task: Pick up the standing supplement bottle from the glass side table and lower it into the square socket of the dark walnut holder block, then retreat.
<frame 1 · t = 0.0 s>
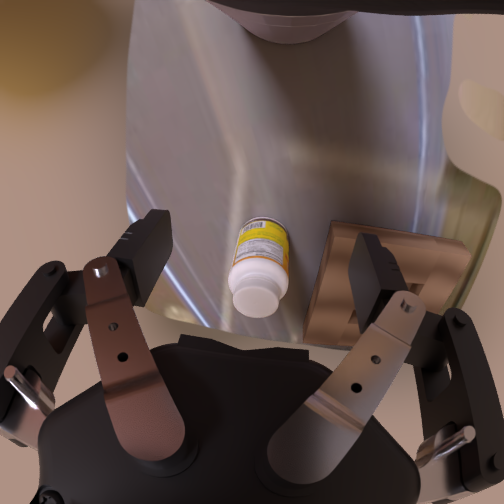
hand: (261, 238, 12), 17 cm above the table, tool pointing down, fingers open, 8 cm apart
walnut socket block: (381, 288, 36), on the table
supplement bottle: (264, 234, 33), on the table
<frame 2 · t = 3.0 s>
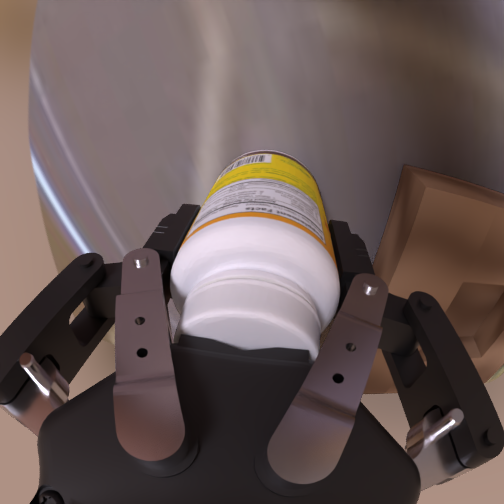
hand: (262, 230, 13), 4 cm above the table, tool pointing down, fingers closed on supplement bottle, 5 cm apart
walnut socket block: (461, 299, 18), on the table
supplement bottle: (268, 194, 16), on the table, touching gripper
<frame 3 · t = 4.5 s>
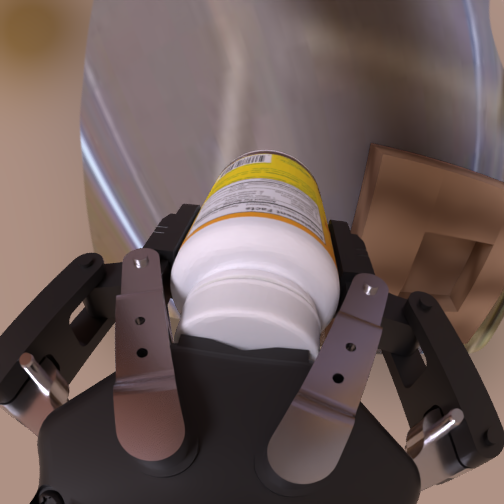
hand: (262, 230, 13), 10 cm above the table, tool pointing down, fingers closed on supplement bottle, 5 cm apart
walnut socket block: (433, 257, 24), on the table
supplement bottle: (268, 194, 16), point 6 cm above the table, touching gripper
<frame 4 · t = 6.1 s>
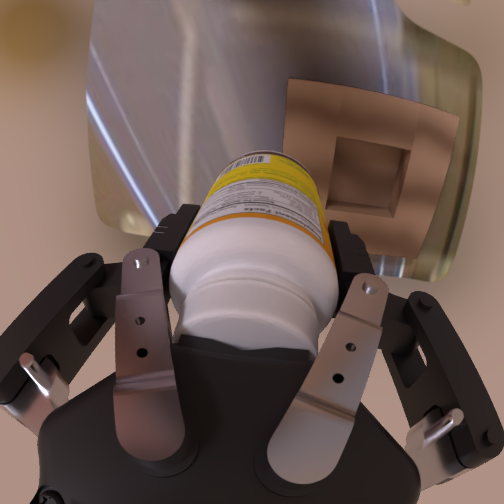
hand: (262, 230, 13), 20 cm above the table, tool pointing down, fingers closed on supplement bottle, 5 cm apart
walnut socket block: (362, 169, 30), on the table
supplement bottle: (267, 194, 16), point 16 cm above the table, touching gripper
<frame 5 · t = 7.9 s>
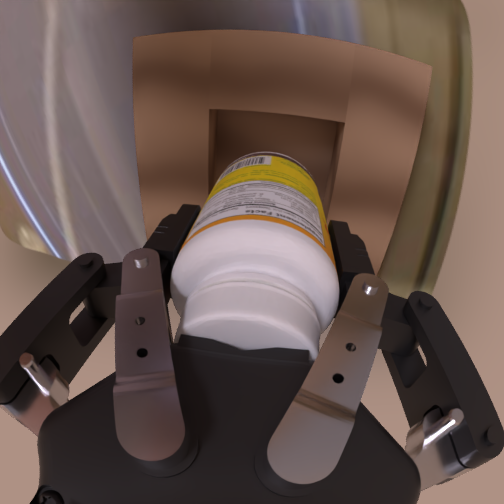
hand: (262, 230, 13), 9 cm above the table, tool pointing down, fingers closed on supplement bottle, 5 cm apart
walnut socket block: (273, 160, 20), on the table
supplement bottle: (267, 195, 16), point 6 cm above the table, touching gripper
when the fingers open (5 cm above the table, at t = 9.4 s): supplement bottle stays where it is, resting on walnut socket block.
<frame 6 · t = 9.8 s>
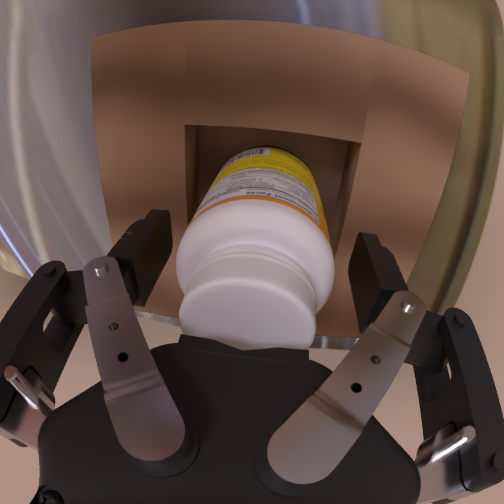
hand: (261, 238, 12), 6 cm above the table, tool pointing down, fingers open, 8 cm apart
walnut socket block: (268, 186, 17), on the table
supplement bottle: (267, 187, 17), resting on walnut socket block
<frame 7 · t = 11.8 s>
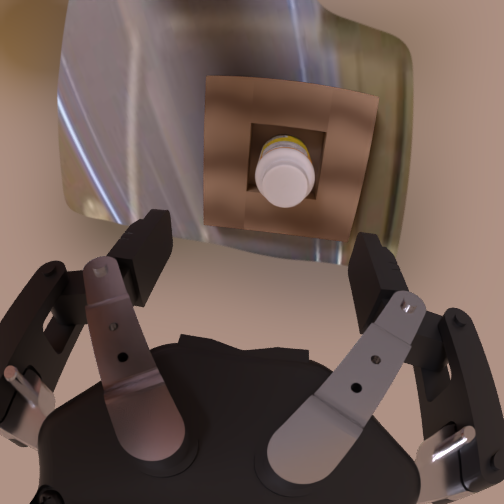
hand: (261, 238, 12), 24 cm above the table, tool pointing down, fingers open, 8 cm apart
walnut socket block: (285, 155, 33), on the table
supplement bottle: (285, 155, 33), resting on walnut socket block
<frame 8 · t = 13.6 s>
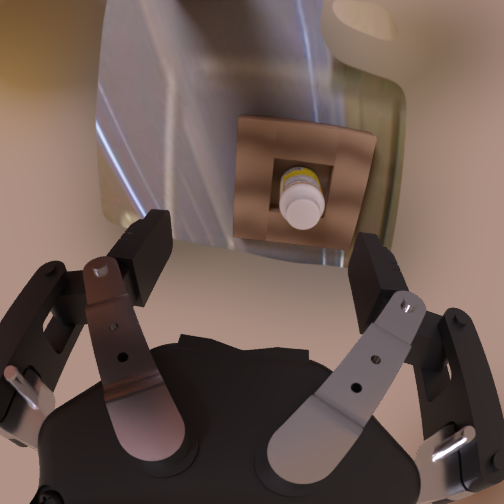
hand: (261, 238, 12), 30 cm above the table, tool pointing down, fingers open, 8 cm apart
walnut socket block: (299, 181, 42), on the table
supplement bottle: (299, 181, 41), resting on walnut socket block
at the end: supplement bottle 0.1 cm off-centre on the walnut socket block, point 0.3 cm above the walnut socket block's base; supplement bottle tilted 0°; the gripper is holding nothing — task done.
